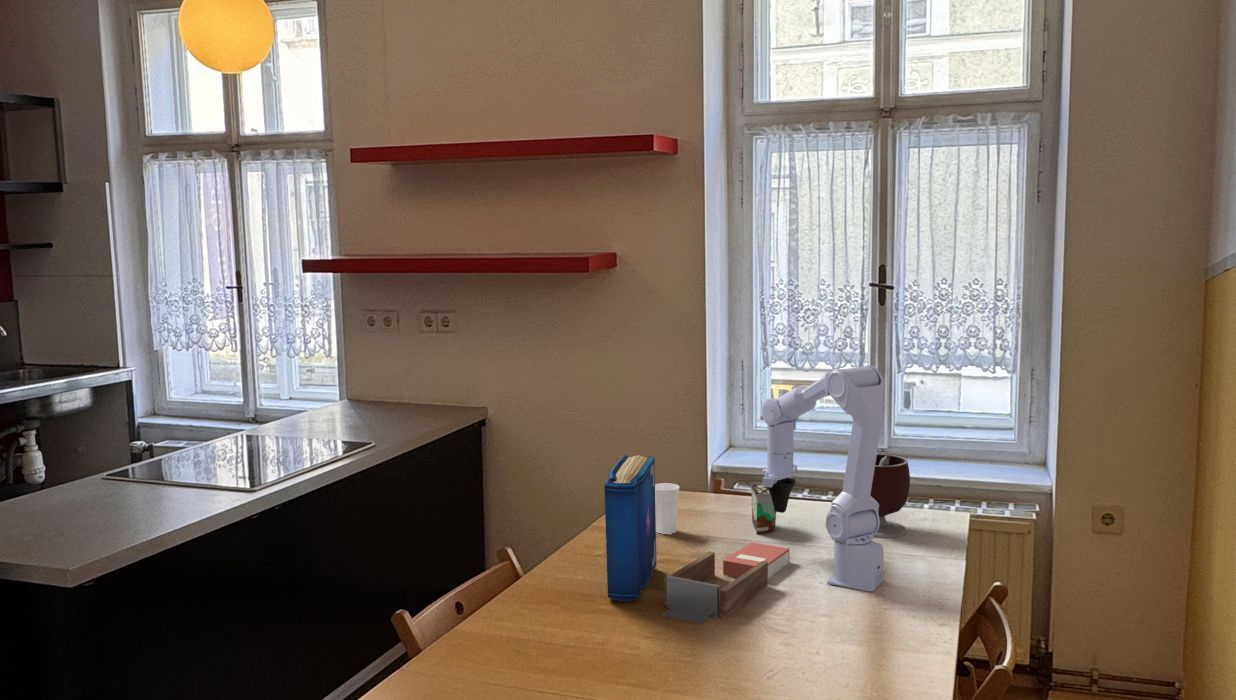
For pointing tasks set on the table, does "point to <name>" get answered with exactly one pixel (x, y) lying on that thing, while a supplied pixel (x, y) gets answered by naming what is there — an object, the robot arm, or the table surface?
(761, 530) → the food container
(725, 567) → the boxed book
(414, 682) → the table surface
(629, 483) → the book
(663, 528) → the cup
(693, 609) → the bookend
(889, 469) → the mate gourd
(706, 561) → the brown wooden drawer
